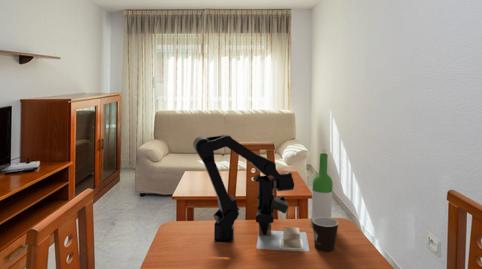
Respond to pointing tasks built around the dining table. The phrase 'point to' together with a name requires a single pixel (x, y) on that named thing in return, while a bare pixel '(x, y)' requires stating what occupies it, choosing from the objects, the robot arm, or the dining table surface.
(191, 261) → the dining table surface
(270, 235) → the walnut cube
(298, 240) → the beech block
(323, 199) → the wine bottle
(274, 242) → the build board
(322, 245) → the coffee mug
